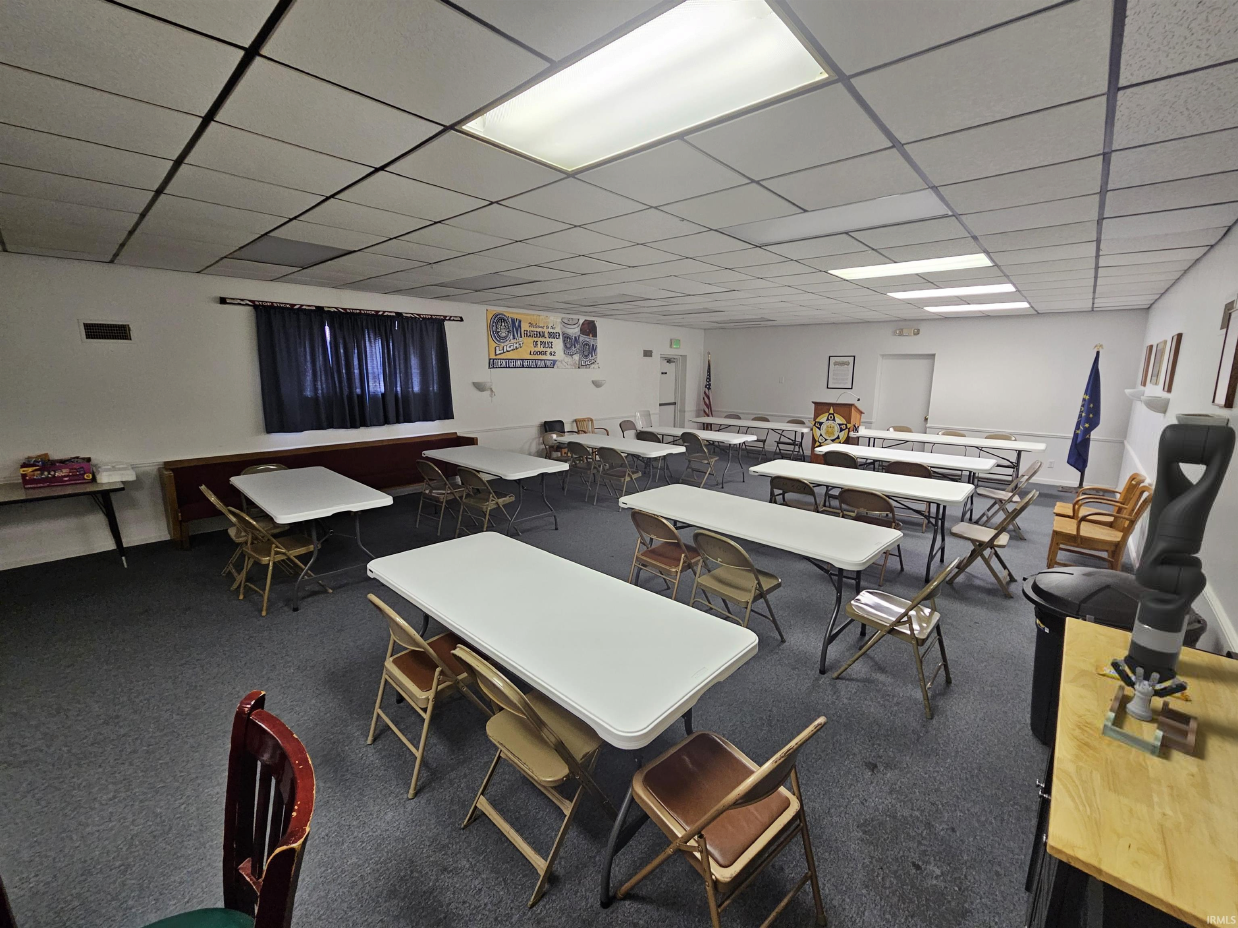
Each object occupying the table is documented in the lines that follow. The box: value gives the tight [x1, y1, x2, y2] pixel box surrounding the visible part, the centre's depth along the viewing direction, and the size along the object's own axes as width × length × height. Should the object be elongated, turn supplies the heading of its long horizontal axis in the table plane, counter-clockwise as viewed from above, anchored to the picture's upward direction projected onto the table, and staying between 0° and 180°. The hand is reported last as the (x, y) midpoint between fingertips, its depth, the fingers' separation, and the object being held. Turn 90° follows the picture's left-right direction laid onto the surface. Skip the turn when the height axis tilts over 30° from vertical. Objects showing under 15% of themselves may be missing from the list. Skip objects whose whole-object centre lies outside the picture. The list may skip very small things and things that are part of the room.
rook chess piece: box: [1125, 683, 1154, 722], centre depth 113 cm, size 4×4×8 cm
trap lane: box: [1101, 684, 1199, 758], centre depth 110 cm, size 23×13×2 cm, turn 128°
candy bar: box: [1095, 664, 1190, 702], centre depth 125 cm, size 17×4×2 cm, turn 45°
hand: (1140, 705), depth 116 cm, fingers closed
